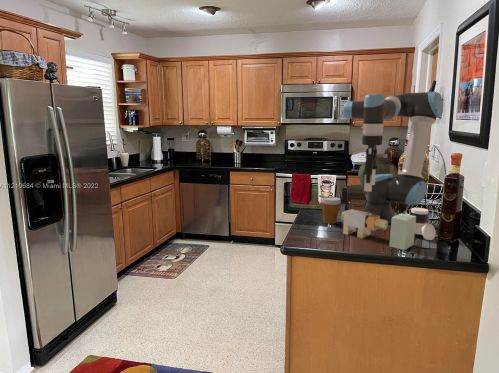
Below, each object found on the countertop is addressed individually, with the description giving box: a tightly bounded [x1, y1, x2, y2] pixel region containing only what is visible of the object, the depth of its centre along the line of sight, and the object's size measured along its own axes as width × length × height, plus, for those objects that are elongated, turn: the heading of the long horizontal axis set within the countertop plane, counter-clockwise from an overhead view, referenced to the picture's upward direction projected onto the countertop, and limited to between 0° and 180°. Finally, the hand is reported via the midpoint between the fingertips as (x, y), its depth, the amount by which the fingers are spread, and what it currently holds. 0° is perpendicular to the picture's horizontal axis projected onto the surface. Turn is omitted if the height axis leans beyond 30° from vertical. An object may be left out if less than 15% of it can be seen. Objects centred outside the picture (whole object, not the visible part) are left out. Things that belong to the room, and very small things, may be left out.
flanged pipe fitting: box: [409, 207, 437, 241], centre depth 157 cm, size 12×11×12 cm
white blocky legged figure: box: [342, 208, 372, 239], centre depth 159 cm, size 7×10×10 cm
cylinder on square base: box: [340, 211, 389, 232], centre depth 157 cm, size 5×20×6 cm, turn 45°
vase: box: [357, 153, 398, 200], centre depth 218 cm, size 22×22×30 cm
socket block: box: [388, 212, 416, 251], centre depth 145 cm, size 9×6×12 cm, turn 135°
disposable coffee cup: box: [320, 196, 342, 225], centre depth 178 cm, size 10×10×12 cm
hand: (369, 187), depth 146 cm, fingers open, 13 cm apart
